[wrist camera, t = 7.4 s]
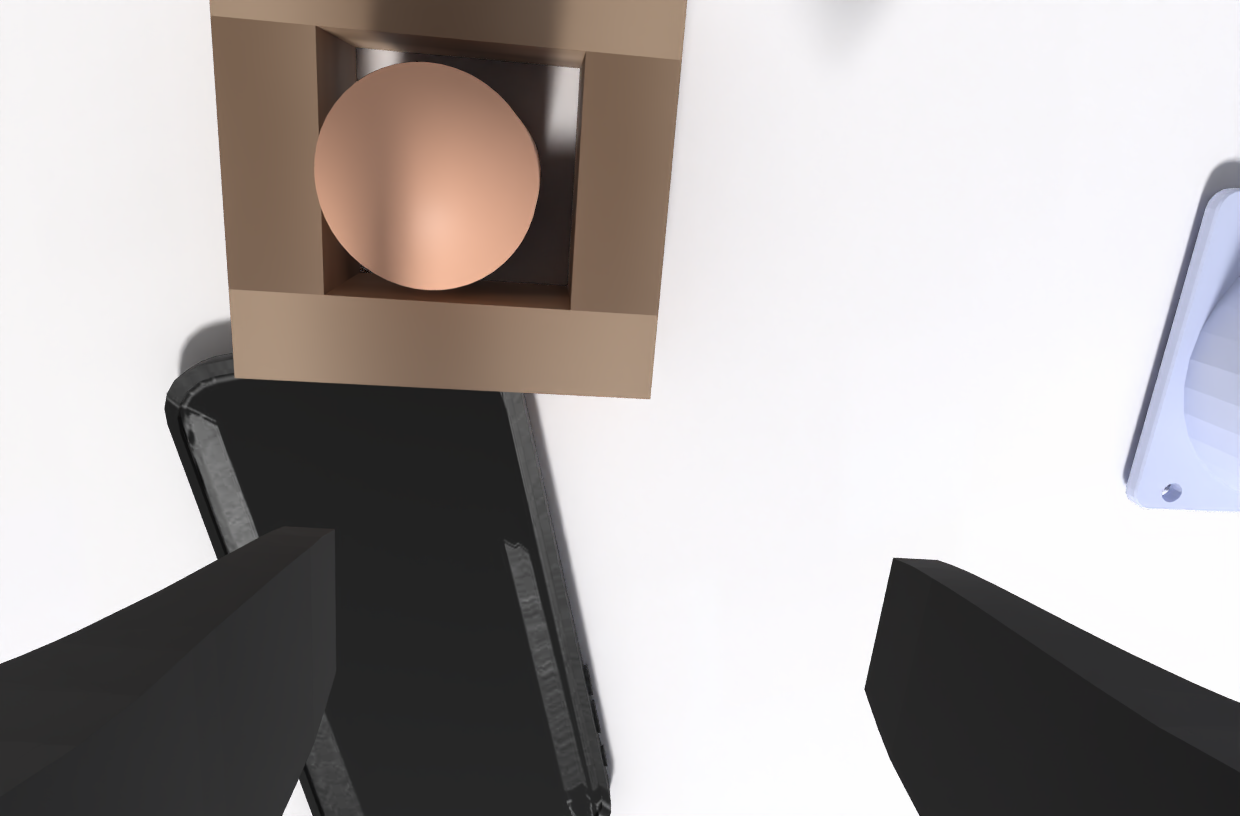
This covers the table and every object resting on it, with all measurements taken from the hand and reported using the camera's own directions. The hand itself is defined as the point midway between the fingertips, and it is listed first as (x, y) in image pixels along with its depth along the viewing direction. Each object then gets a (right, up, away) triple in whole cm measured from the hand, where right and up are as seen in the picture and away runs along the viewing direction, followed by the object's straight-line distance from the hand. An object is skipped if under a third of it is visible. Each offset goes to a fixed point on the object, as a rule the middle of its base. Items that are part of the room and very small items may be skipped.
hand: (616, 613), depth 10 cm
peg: (-3, +8, +7) cm, 11 cm away
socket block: (-3, +8, +7) cm, 11 cm away
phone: (-5, -2, +11) cm, 12 cm away
